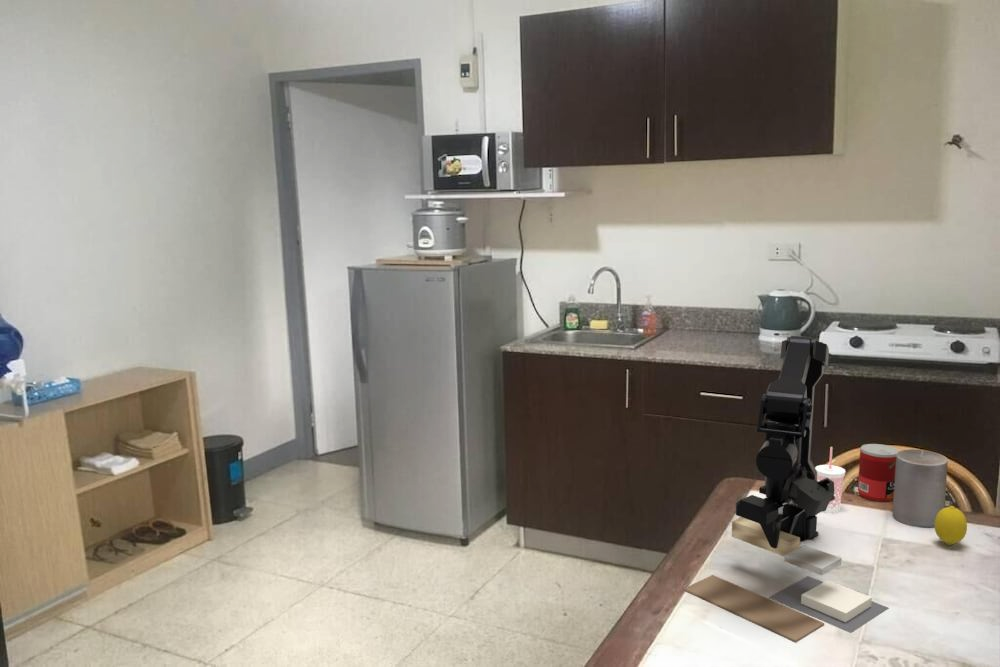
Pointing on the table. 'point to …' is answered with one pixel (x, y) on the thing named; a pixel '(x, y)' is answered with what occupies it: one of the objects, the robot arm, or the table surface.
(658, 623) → the table surface
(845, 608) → the tile
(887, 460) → the canned food
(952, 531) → the lemon
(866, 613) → the mat
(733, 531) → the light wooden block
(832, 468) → the beverage cup
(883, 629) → the table surface
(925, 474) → the pillar candle
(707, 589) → the board
